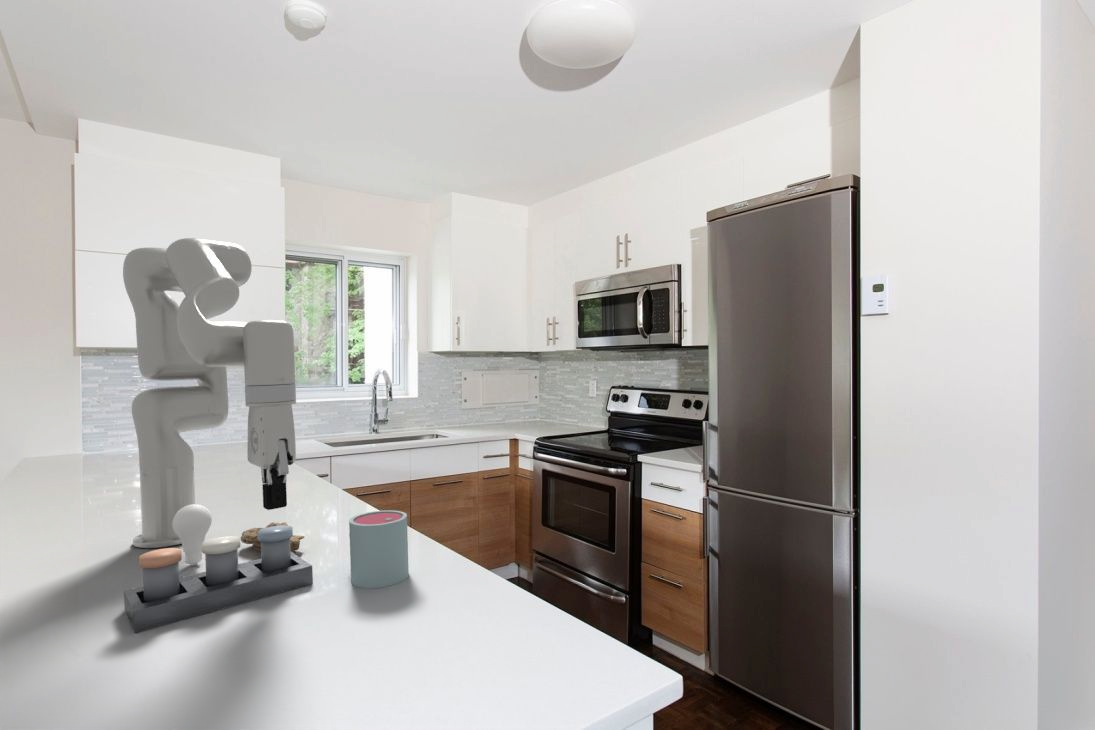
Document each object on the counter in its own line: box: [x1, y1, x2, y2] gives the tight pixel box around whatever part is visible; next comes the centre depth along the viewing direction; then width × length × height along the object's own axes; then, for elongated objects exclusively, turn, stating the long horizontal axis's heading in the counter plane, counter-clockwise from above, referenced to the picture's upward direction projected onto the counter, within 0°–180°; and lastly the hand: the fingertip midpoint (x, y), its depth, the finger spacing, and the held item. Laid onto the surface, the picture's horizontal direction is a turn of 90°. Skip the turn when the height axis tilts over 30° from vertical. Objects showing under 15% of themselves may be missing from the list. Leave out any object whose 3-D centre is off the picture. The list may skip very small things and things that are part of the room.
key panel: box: [123, 552, 314, 634], centre depth 92 cm, size 10×24×3 cm, turn 132°
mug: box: [348, 509, 409, 589], centre depth 100 cm, size 14×9×10 cm
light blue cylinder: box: [258, 525, 294, 572], centre depth 97 cm, size 5×5×6 cm
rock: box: [240, 521, 305, 554], centre depth 115 cm, size 17×5×10 cm
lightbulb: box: [172, 503, 213, 567], centre depth 107 cm, size 6×6×11 cm
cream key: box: [202, 535, 241, 586], centre depth 92 cm, size 5×5×6 cm
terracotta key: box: [138, 547, 183, 602], centre depth 86 cm, size 5×5×6 cm
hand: (275, 507), depth 97 cm, fingers closed
